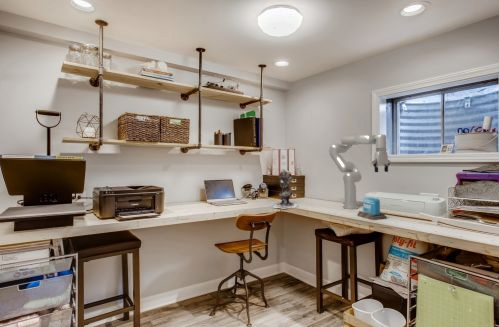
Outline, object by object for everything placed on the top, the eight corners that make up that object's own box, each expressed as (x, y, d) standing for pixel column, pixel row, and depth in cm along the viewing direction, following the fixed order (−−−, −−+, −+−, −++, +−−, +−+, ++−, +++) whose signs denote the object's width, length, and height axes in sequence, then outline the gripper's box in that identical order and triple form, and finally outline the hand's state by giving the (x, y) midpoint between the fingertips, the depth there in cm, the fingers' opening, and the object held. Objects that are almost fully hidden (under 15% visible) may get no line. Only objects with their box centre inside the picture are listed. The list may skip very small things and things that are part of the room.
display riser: (357, 216, 218) (357, 211, 218) (370, 214, 222) (370, 210, 222) (372, 220, 203) (372, 215, 203) (386, 218, 207) (386, 213, 207)
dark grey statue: (267, 207, 259) (268, 168, 262) (277, 206, 282) (279, 170, 284) (290, 209, 249) (291, 169, 251) (299, 208, 271) (300, 170, 274)
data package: (363, 213, 217) (362, 197, 217) (367, 212, 219) (367, 197, 219) (375, 216, 206) (375, 199, 206) (380, 215, 208) (380, 199, 208)
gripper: (386, 150, 235) (386, 171, 235) (368, 150, 229) (369, 172, 230) (393, 150, 228) (393, 171, 228) (375, 150, 222) (376, 172, 222)
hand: (381, 171), depth 229 cm, fingers open, 9 cm apart
